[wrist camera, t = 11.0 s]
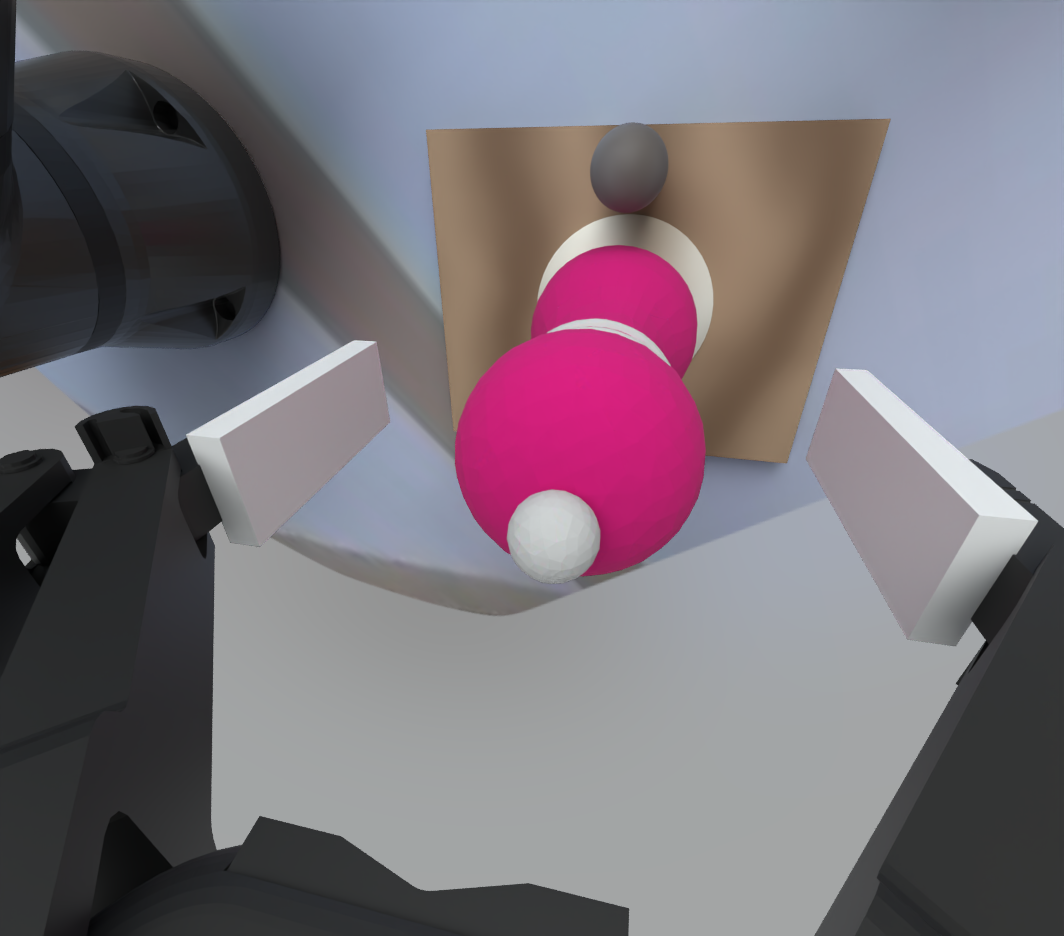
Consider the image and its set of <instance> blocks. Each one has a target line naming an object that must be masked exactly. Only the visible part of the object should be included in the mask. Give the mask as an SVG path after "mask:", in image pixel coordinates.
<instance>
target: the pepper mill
mask: <svg viewBox="0 0 1064 936" xmlns="http://www.w3.org/2000/svg"><path fill="white" fill-rule="evenodd" d="M697 325H698V324H697V312H696V307H695V303H694V299H693V296H692V294H691V292H690V290H689V288H688V285H687V284H686V282H685V281H684V279H683V278H682V276H681V275H680V274H679V272H678V271H677V270H676V269H675V268H674V267H673V266H672V265H671V264H670V263H668V262H667V261H665V260H664V259H662V258H661V257H660V256H658V255H656V254H654V253H652V252H650V251H647V250H645V249H641V248H637V247H634V246H625V245H611V246H603V247H599V248H595V249H591V250H589V251H586V252H584V253H582V254H580V255H578V256H576V257H575V258H573V259H571V260H570V261H568V262H567V263H566V264H565V265H564V266H562V267H561V268H560V269H559V270H558V271H557V272H556V273H555V275H554V276H553V277H552V278H551V280H550V281H549V282H548V284H547V286H546V287H545V289H544V291H543V292H542V294H541V296H540V298H539V300H538V302H537V305H536V308H535V311H534V314H533V318H532V325H531V340H529V341H526V342H524V343H522V344H520V345H518V346H516V347H514V348H512V349H511V350H509V351H508V352H507V353H505V354H504V355H503V356H501V357H500V358H499V359H498V360H497V361H496V362H495V363H494V364H493V365H492V366H491V367H490V368H489V369H488V371H487V372H486V373H485V374H484V375H483V376H482V377H481V378H480V379H479V381H478V383H477V384H476V386H475V387H474V389H473V391H472V392H471V394H470V396H469V397H468V399H467V401H466V404H465V407H464V409H463V412H462V414H461V417H460V420H459V422H458V428H457V435H456V441H455V466H456V473H457V478H458V481H459V485H460V488H461V491H462V494H463V497H464V499H465V501H466V503H467V505H468V507H469V509H470V511H471V513H472V515H473V517H474V519H475V520H476V521H477V523H478V524H479V525H480V526H481V528H482V529H483V530H484V532H485V533H486V534H487V535H488V536H489V537H490V538H491V539H493V540H494V541H495V542H496V543H497V544H498V545H499V546H500V547H501V548H502V549H503V550H504V551H505V552H507V553H508V554H510V555H511V556H512V558H513V560H514V562H515V564H516V565H517V566H518V567H519V568H520V569H521V571H523V572H524V573H525V574H526V575H528V576H529V577H530V578H532V579H535V580H537V581H539V582H542V583H548V584H558V583H565V582H568V581H571V580H573V579H576V578H578V577H579V576H591V575H601V574H607V573H611V572H615V571H619V570H623V569H625V568H628V567H630V566H633V565H635V564H637V563H640V562H642V561H644V560H645V559H647V558H648V557H649V556H651V555H652V554H654V553H655V552H657V551H658V550H659V549H661V548H662V547H663V546H664V545H665V544H667V543H668V542H669V541H670V540H671V539H672V538H673V537H674V536H675V535H676V533H677V532H678V531H679V530H680V529H681V527H682V525H683V524H684V522H685V521H686V519H687V518H688V516H689V515H690V513H691V511H692V509H693V507H694V505H695V503H696V501H697V499H698V496H699V492H700V489H701V485H702V481H703V476H704V465H705V453H706V446H705V438H704V429H703V423H702V420H701V417H700V414H699V412H698V409H697V406H696V403H695V401H694V400H693V398H692V396H691V395H690V393H689V391H688V390H687V388H686V386H685V385H684V383H683V381H682V380H681V379H682V378H683V376H684V374H685V372H686V371H687V369H688V367H689V365H690V363H691V361H692V358H693V354H694V350H695V346H696V338H697Z"/></svg>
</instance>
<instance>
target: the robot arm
mask: <svg viewBox="0 0 1064 936" xmlns="http://www.w3.org/2000/svg"><path fill="white" fill-rule="evenodd" d="M15 33H16V0H0V377H3V376H6V375H9V374H13V373H16V372H19V371H22V370H25V369H28V368H32V367H35V366H38V365H42V364H45V363H48V362H51V361H55V360H58V359H61V358H65V357H67V356H71V355H74V354H77V353H81V352H84V351H87V350H91V349H95V348H99V347H136V348H172V349H195V348H202V347H208V346H211V345H215V344H218V343H220V342H223V341H226V340H229V339H231V338H234V337H237V336H239V335H241V334H243V333H245V332H247V331H248V330H250V329H251V328H252V327H254V326H255V325H256V324H257V323H258V322H259V321H260V320H261V318H262V317H263V316H264V314H265V313H266V311H267V310H268V308H269V306H270V304H271V302H272V299H273V297H274V294H275V290H276V287H277V281H278V275H279V242H278V235H277V228H276V224H275V219H274V215H273V211H272V208H271V205H270V202H269V199H268V196H267V193H266V191H265V188H264V185H263V183H262V181H261V179H260V176H259V174H258V172H257V170H256V168H255V166H254V164H253V162H252V161H251V159H250V157H249V155H248V154H247V152H246V150H245V149H244V147H243V146H242V144H241V143H240V141H239V140H238V138H237V137H236V135H235V134H234V133H233V131H232V130H231V129H230V127H229V126H228V125H227V124H226V122H225V121H224V120H223V119H222V118H221V117H220V115H219V114H218V113H217V112H216V111H215V110H214V109H213V108H212V107H211V106H210V105H209V104H208V103H207V102H206V101H205V100H204V99H203V98H202V97H200V96H199V95H198V94H197V93H196V92H195V91H193V90H192V89H191V88H190V87H188V86H187V85H185V84H184V83H183V82H181V81H180V80H178V79H177V78H175V77H173V76H172V75H170V74H168V73H166V72H164V71H162V70H160V69H158V68H156V67H153V66H151V65H148V64H145V63H142V62H139V61H134V60H130V59H126V58H121V57H117V56H113V55H109V54H104V53H99V52H92V51H66V52H60V53H55V54H50V55H46V56H41V57H36V58H31V59H26V60H22V61H17V62H15ZM389 423H390V418H389V412H388V406H387V400H386V394H385V388H384V382H383V376H382V370H381V365H380V359H379V353H378V347H377V342H374V341H357V340H354V341H352V342H350V343H348V344H347V345H345V346H343V347H341V348H340V349H338V350H336V351H334V352H332V353H331V354H329V355H327V356H325V357H324V358H322V359H320V360H318V361H316V362H315V363H313V364H311V365H309V366H307V367H306V368H304V369H302V370H300V371H299V372H297V373H295V374H293V375H291V376H290V377H288V378H286V379H284V380H283V381H281V382H279V383H277V384H275V385H274V386H272V387H270V388H268V389H267V390H265V391H263V392H261V393H259V394H258V395H256V396H254V397H252V398H251V399H249V400H247V401H245V402H243V403H242V404H240V405H238V406H236V407H234V408H233V409H231V410H229V411H227V412H226V413H224V414H222V415H220V416H218V417H217V418H215V419H213V420H211V421H210V422H208V423H206V424H204V425H202V426H201V427H199V428H197V429H195V430H194V431H192V432H190V433H188V434H186V437H187V438H186V439H184V440H182V441H180V442H179V443H177V444H175V445H173V446H171V444H170V442H169V439H168V437H167V435H166V432H165V430H164V428H163V426H162V423H161V421H160V419H159V416H158V414H157V412H156V409H155V408H152V407H149V406H131V407H122V408H117V409H112V410H108V411H104V412H101V413H98V414H95V415H92V416H90V417H88V418H86V419H84V420H82V421H80V422H79V423H78V424H77V425H76V426H75V428H76V430H77V432H78V434H79V436H80V437H81V439H82V441H83V443H84V445H85V447H86V449H87V451H88V452H89V454H90V456H91V457H92V460H93V462H94V466H93V468H92V469H79V470H72V469H71V467H70V465H69V464H68V462H67V460H66V458H65V457H64V455H63V453H62V452H61V451H59V450H55V449H39V450H33V451H29V450H24V451H19V452H17V453H12V454H8V455H6V456H4V457H3V458H1V459H0V936H628V926H629V924H628V923H629V908H625V907H621V906H617V905H613V904H609V903H605V902H601V901H597V900H593V899H589V898H585V897H581V896H577V895H573V894H569V893H565V892H561V891H557V890H553V889H549V888H545V887H541V886H537V885H533V884H529V883H527V884H515V885H502V886H490V887H478V888H465V889H453V890H439V891H424V890H420V889H417V888H415V887H414V886H412V885H410V884H409V883H408V882H406V881H405V880H403V879H402V878H400V877H399V876H398V875H396V874H395V873H393V872H392V871H390V870H389V869H387V868H386V867H384V866H383V865H382V864H380V863H379V862H377V861H376V860H374V859H373V858H372V857H370V856H368V855H367V854H366V853H364V852H363V851H361V850H360V849H359V848H357V847H356V846H354V845H353V844H351V843H350V842H348V841H347V840H346V839H344V838H343V837H341V836H337V835H334V834H330V833H326V832H322V831H318V830H313V829H310V828H306V827H302V826H297V825H294V824H290V823H286V822H282V821H278V820H274V819H270V818H266V817H262V816H259V818H258V820H257V821H256V823H255V825H254V826H253V828H252V830H251V831H250V833H249V835H248V836H247V838H246V840H245V841H244V843H243V844H242V845H239V846H234V847H230V848H225V849H221V850H216V846H215V843H214V840H213V834H212V828H211V778H212V777H211V776H212V773H211V772H212V705H213V704H212V703H213V698H212V697H213V631H214V630H213V629H214V559H215V553H214V552H215V545H214V543H213V540H212V538H211V536H210V533H209V531H210V530H211V529H213V528H214V527H215V526H216V525H218V524H219V523H220V522H222V524H223V526H224V529H225V531H226V534H227V536H228V538H229V541H230V543H235V544H243V545H249V546H257V547H260V546H262V544H263V543H265V542H266V541H267V540H268V539H269V538H270V537H271V536H272V535H273V534H274V533H275V532H276V531H277V530H278V529H279V528H280V527H281V526H282V525H283V524H284V523H285V522H287V521H288V520H289V519H290V518H291V517H292V516H293V515H294V514H295V513H296V512H297V511H298V510H299V509H300V508H301V507H302V506H303V505H304V504H305V503H306V502H307V501H308V500H309V499H311V498H312V497H313V496H314V495H315V494H316V493H317V492H318V491H319V490H320V489H321V488H322V487H323V486H324V485H325V484H326V483H327V482H328V481H329V480H330V479H331V478H332V477H333V476H334V475H336V474H337V473H338V472H339V471H340V470H341V469H342V468H343V467H344V466H345V465H346V464H347V463H348V462H349V461H350V460H351V459H352V458H353V457H354V456H355V455H356V454H357V453H358V452H359V451H361V450H362V449H363V448H364V447H365V446H366V445H367V444H368V443H369V442H370V441H371V440H372V439H373V438H374V437H375V436H376V435H377V434H378V433H379V432H380V431H381V430H382V429H383V428H385V427H386V426H387V425H388V424H389ZM806 460H807V462H808V464H809V465H810V467H811V469H812V471H813V473H814V474H815V476H816V478H817V480H818V482H819V483H820V485H821V487H822V489H823V490H824V492H825V494H826V496H827V498H828V499H829V501H830V503H831V505H832V506H833V508H834V510H835V512H836V513H837V515H838V517H839V519H840V520H841V522H842V524H843V526H844V528H845V530H846V531H847V533H848V535H849V537H850V538H851V540H852V542H853V544H854V545H855V547H856V549H857V551H858V553H859V554H860V556H861V558H862V560H863V561H864V563H865V565H866V567H867V568H868V570H869V572H870V574H871V576H872V577H873V579H874V581H875V583H876V585H877V586H878V588H879V590H880V592H881V593H882V595H883V597H884V599H885V601H886V602H887V604H888V606H889V608H890V610H891V611H892V613H893V615H894V617H895V618H896V620H897V622H898V624H899V626H900V627H901V629H902V631H903V633H904V634H905V636H906V638H907V639H908V640H914V641H921V642H929V643H935V644H942V645H950V646H956V645H957V643H958V642H959V640H960V639H961V637H962V636H963V634H964V633H965V631H966V630H967V628H968V627H969V625H970V624H971V622H973V623H974V624H975V626H976V627H977V628H978V630H979V631H980V633H981V634H982V635H983V637H984V638H985V639H986V641H985V643H984V644H983V645H982V647H981V648H980V650H979V651H978V653H977V654H976V655H975V657H974V658H973V660H972V661H971V663H970V664H969V665H968V667H967V668H966V670H965V671H964V672H963V674H962V675H961V677H960V678H959V680H958V681H957V682H956V684H957V685H958V687H957V688H956V690H955V692H954V694H953V695H952V697H951V699H950V701H949V702H948V704H947V706H946V708H945V710H944V711H943V713H942V715H941V716H940V718H939V720H938V722H937V723H936V725H935V727H934V729H933V730H932V732H931V734H930V735H929V737H928V739H927V741H926V743H925V744H924V746H923V748H922V750H921V751H920V753H919V755H918V757H917V758H916V760H915V762H914V763H913V765H912V767H911V769H910V770H909V772H908V774H907V776H906V777H905V779H904V781H903V783H902V784H901V786H900V788H899V789H898V791H897V793H896V795H895V796H894V798H893V800H892V802H891V804H890V805H889V807H888V809H887V810H886V812H885V814H884V816H883V817H882V819H881V821H880V823H879V824H878V826H877V828H876V830H875V831H874V833H873V835H872V836H871V838H870V840H869V842H868V843H867V845H866V847H865V849H864V850H863V852H862V854H861V856H860V857H859V859H858V861H857V863H856V864H855V866H854V868H853V870H852V871H851V873H850V875H849V876H848V879H847V880H846V882H845V884H844V885H843V887H842V889H841V890H840V892H839V894H838V896H837V897H836V899H835V901H834V903H833V904H832V906H831V908H830V910H829V911H828V913H827V915H826V917H825V918H824V920H823V922H822V924H821V925H820V927H819V929H818V931H817V932H816V934H815V936H1064V528H1063V527H1061V526H1060V525H1059V524H1058V523H1056V521H1054V520H1053V519H1052V518H1051V517H1050V516H1048V515H1047V514H1046V513H1045V512H1044V511H1042V510H1041V509H1040V508H1039V507H1038V506H1037V505H1035V504H1032V503H1030V501H1031V500H1030V499H1028V498H1027V497H1026V496H1025V495H1024V494H1022V493H1021V492H1020V491H1016V488H1015V487H1014V486H1013V485H1012V484H1011V483H1009V482H1008V481H1007V480H1006V479H1005V478H1004V477H1002V476H1001V475H1000V474H999V473H997V472H995V471H993V470H991V469H989V468H987V467H986V466H984V465H982V464H980V463H978V462H976V461H974V460H972V459H967V458H966V457H965V456H964V455H963V454H961V453H960V452H959V451H958V450H957V449H956V448H955V447H954V446H952V445H951V444H950V443H949V442H948V441H947V440H946V439H945V438H943V437H942V436H941V435H940V434H939V433H938V432H937V431H935V430H934V429H933V428H932V427H931V426H930V425H929V424H928V423H926V422H925V421H924V420H923V419H922V418H921V417H920V416H918V415H917V414H916V413H915V412H914V411H913V410H912V409H911V408H909V407H908V406H907V405H906V404H905V403H904V402H903V401H901V400H900V399H899V398H898V397H897V396H896V395H895V394H894V393H892V392H891V391H890V390H889V389H888V388H887V387H886V386H884V385H883V384H882V383H881V382H880V381H879V380H878V379H876V378H875V377H874V376H873V375H872V374H871V373H870V372H869V371H867V370H854V369H837V368H835V371H834V374H833V377H832V380H831V383H830V386H829V389H828V392H827V396H826V399H825V402H824V405H823V408H822V411H821V414H820V417H819V420H818V423H817V426H816V429H815V432H814V435H813V438H812V441H811V444H810V447H809V450H808V453H807V456H806ZM16 538H17V539H18V540H19V542H20V543H21V545H22V546H23V547H24V549H25V550H26V552H27V553H28V555H29V556H30V557H31V561H30V562H29V563H28V564H27V565H26V566H24V565H23V563H22V561H21V560H20V559H19V556H18V554H17V552H16Z"/></svg>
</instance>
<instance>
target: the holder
mask: <svg viewBox="0 0 1064 936" xmlns="http://www.w3.org/2000/svg"><path fill="white" fill-rule="evenodd" d="M890 120H891V119H861V120H819V121H776V122H734V123H692V124H649V125H644V124H641V123H625V124H622V125H607V126H564V127H522V128H480V129H437V130H426V134H427V145H428V156H429V167H430V178H431V189H432V200H433V211H434V222H435V233H436V244H437V255H438V265H439V276H440V287H441V298H442V309H443V320H444V331H445V342H446V353H447V364H448V375H449V386H450V397H451V408H452V419H453V430H454V431H457V428H458V422H459V420H460V417H461V414H462V412H463V409H464V407H465V404H466V401H467V399H468V397H469V396H470V394H471V392H472V391H473V389H474V387H475V386H476V384H477V383H478V381H479V379H480V378H481V377H482V376H483V375H484V374H485V373H486V372H487V371H488V369H489V368H490V367H491V366H492V365H493V364H494V363H495V362H496V361H497V360H498V359H499V358H500V357H501V356H503V355H504V354H505V353H507V352H508V351H509V350H511V349H512V348H514V347H516V346H518V345H520V344H522V343H524V342H526V341H529V340H531V325H532V318H533V314H534V311H535V308H536V305H537V302H538V300H539V298H540V296H541V294H542V292H543V291H544V289H545V287H546V286H547V284H548V282H549V281H550V280H551V278H552V277H553V276H554V275H555V273H556V272H557V271H558V270H559V269H560V268H561V267H562V266H564V265H565V264H566V263H567V262H568V261H570V260H571V259H573V258H575V257H576V256H578V255H580V254H582V253H584V252H586V251H589V250H591V249H595V248H599V247H603V246H611V245H625V246H634V247H637V248H641V249H645V250H647V251H650V252H652V253H654V254H656V255H658V256H660V257H661V258H662V259H664V260H665V261H667V262H668V263H670V264H671V265H672V266H673V267H674V268H675V269H676V270H677V271H678V272H679V274H680V275H681V276H682V278H683V279H684V281H685V282H686V284H687V285H688V288H689V290H690V292H691V294H692V296H693V299H694V303H695V307H696V312H697V324H698V325H697V338H696V346H695V350H694V354H693V358H692V361H691V363H690V365H689V367H688V369H687V371H686V372H685V374H684V376H683V378H682V379H681V380H682V381H683V383H684V385H685V386H686V388H687V390H688V391H689V393H690V395H691V396H692V398H693V400H694V401H695V403H696V406H697V409H698V412H699V414H700V417H701V420H702V423H703V429H704V438H705V446H706V453H705V456H716V457H726V458H736V459H747V460H757V461H767V462H777V463H787V461H788V458H789V454H790V451H791V448H792V444H793V441H794V438H795V434H796V431H797V428H798V424H799V421H800V418H801V414H802V411H803V408H804V405H805V401H806V398H807V395H808V391H809V388H810V385H811V381H812V378H813V375H814V371H815V368H816V365H817V361H818V358H819V355H820V352H821V348H822V345H823V342H824V338H825V335H826V332H827V328H828V325H829V322H830V318H831V315H832V312H833V308H834V305H835V302H836V299H837V295H838V292H839V289H840V285H841V282H842V279H843V275H844V272H845V269H846V265H847V262H848V259H849V255H850V252H851V249H852V245H853V242H854V239H855V236H856V232H857V229H858V226H859V222H860V219H861V216H862V212H863V209H864V206H865V202H866V199H867V196H868V192H869V189H870V186H871V183H872V179H873V176H874V173H875V169H876V166H877V163H878V159H879V156H880V153H881V149H882V146H883V143H884V139H885V136H886V133H887V130H888V126H889V123H890Z"/></svg>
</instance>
